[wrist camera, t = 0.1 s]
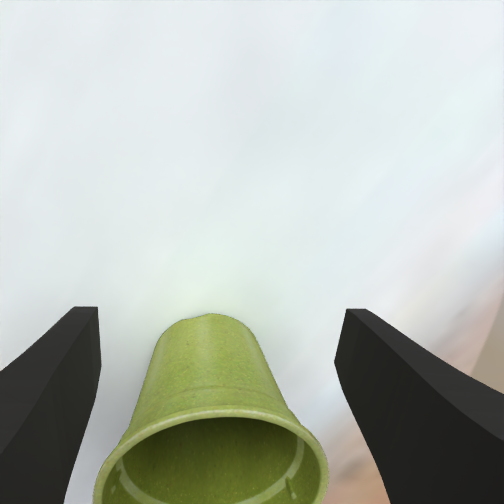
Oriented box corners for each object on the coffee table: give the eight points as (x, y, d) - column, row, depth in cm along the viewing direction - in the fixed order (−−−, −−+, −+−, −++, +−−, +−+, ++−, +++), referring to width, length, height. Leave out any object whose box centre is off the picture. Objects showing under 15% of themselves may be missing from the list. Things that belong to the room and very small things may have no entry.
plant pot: (234, 430, 27) (253, 580, 20) (95, 386, 24) (54, 544, 17) (315, 325, 25) (374, 451, 17) (170, 259, 21) (162, 378, 14)
